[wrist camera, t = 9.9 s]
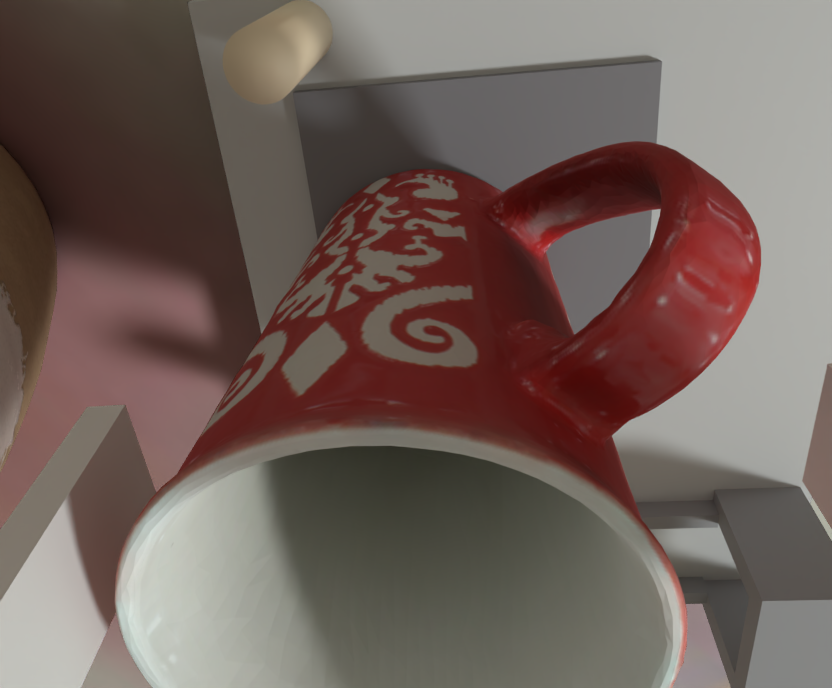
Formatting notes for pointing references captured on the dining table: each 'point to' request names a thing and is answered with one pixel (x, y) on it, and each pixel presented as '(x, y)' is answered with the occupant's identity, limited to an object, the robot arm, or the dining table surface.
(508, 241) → the mug
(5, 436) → the white ceramic vase
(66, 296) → the dining table surface
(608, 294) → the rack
